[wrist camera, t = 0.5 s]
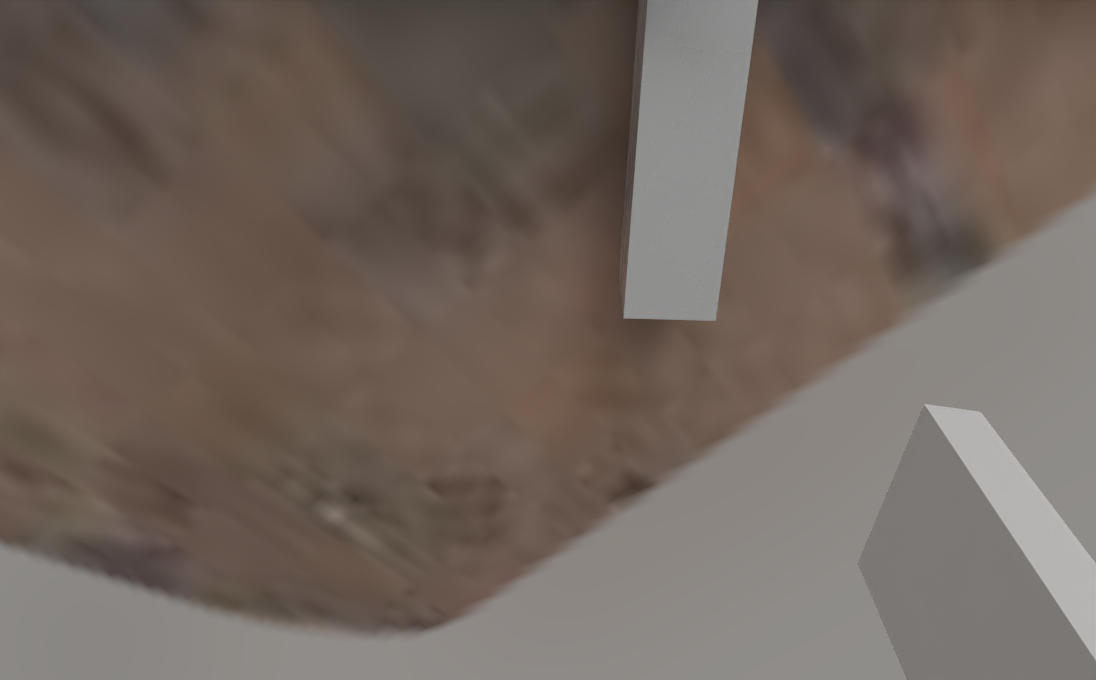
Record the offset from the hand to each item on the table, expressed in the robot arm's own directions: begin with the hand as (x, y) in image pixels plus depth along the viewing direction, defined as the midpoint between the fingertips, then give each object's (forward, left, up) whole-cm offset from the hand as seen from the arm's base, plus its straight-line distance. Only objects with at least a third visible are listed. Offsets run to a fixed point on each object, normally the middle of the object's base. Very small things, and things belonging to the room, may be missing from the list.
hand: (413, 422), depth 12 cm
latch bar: (-2, +5, -17) cm, 18 cm away
